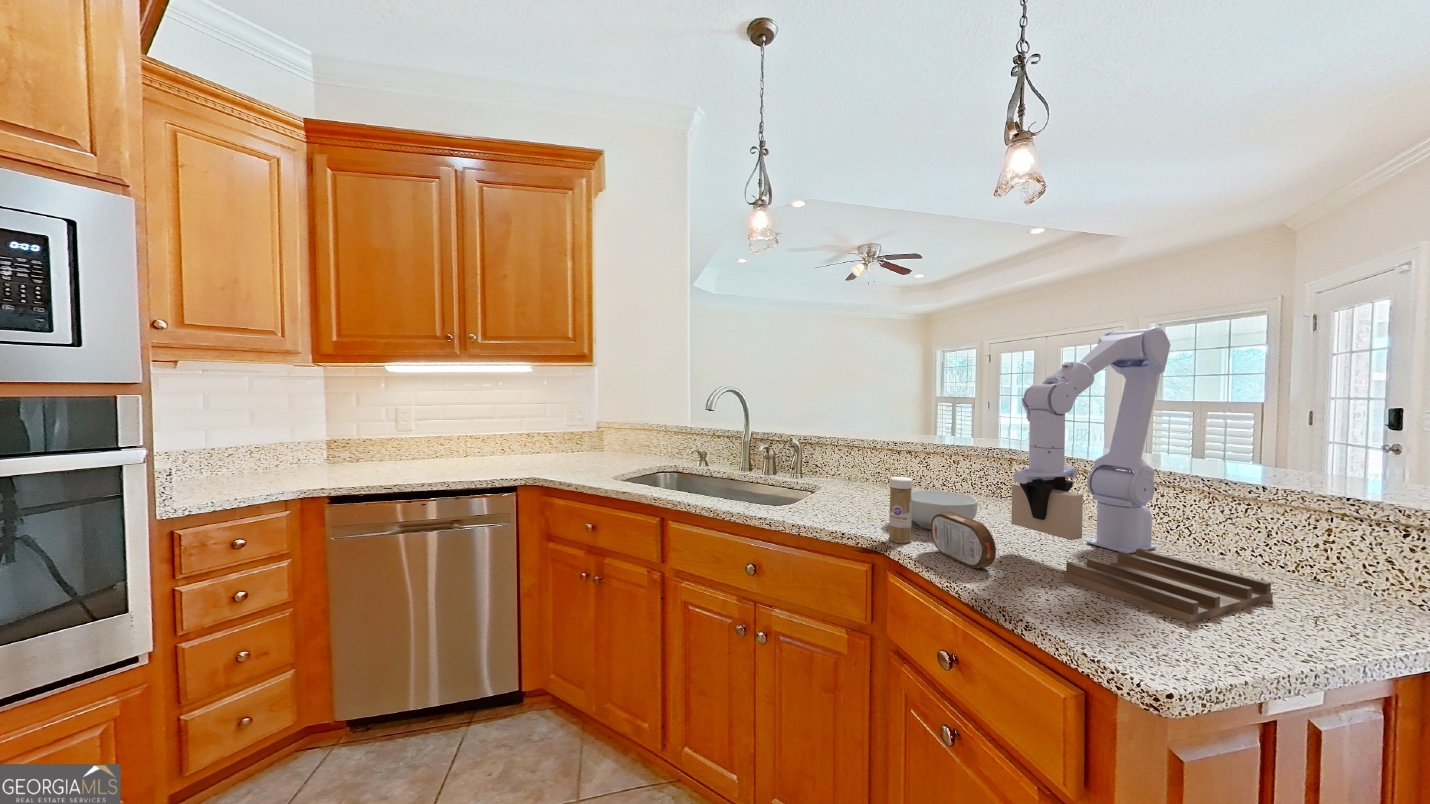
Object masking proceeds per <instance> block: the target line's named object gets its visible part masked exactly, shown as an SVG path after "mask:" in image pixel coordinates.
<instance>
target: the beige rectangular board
mask: <svg viewBox="0 0 1430 804" xmlns="http://www.w3.org/2000/svg"><path fill="white" fill-rule="evenodd" d="M1083 505H1084V495H1083V494H1082V493H1077V492H1071V491H1069V492H1067V491H1062V490H1056V489H1052V491H1051V493H1050V496H1049V500H1048V505H1047V514H1046V518H1045V520H1040V519H1036V518H1033V516H1032V512H1031V509H1030V505H1029V502H1028V499H1027V496H1026V494H1025V492H1024V491H1023V489H1022V487H1021V486H1020V483H1018V482H1017V483H1013V484H1011V520H1010V521H1011V525H1015V526H1017V527H1022V528H1025V529H1029V530H1032V531H1036V532H1038V533H1039V532H1040V533H1043V534H1046V535H1051V536H1055V537H1058V538H1062V539H1065V540H1067V541H1068V540H1069V541H1074V540H1080V539H1083V513H1084V512H1083V510H1084V509H1083V508H1084V506H1083Z"/></svg>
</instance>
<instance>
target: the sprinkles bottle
mask: <svg viewBox="0 0 1430 804" xmlns="http://www.w3.org/2000/svg"><path fill="white" fill-rule="evenodd" d="M889 489H890V491H889V493H890V494H889V496H890V497H889V511H888V512H889V518H888V519H889V520H888V521H889V536H888V539H889V541H891V542H892V543H896V544H904V545H905V544H910V543H911V542H912V520H911V491H913V490H912V489H913V479H912V478H910V477H908V476H907V477H906V476H892V477H889Z"/></svg>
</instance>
